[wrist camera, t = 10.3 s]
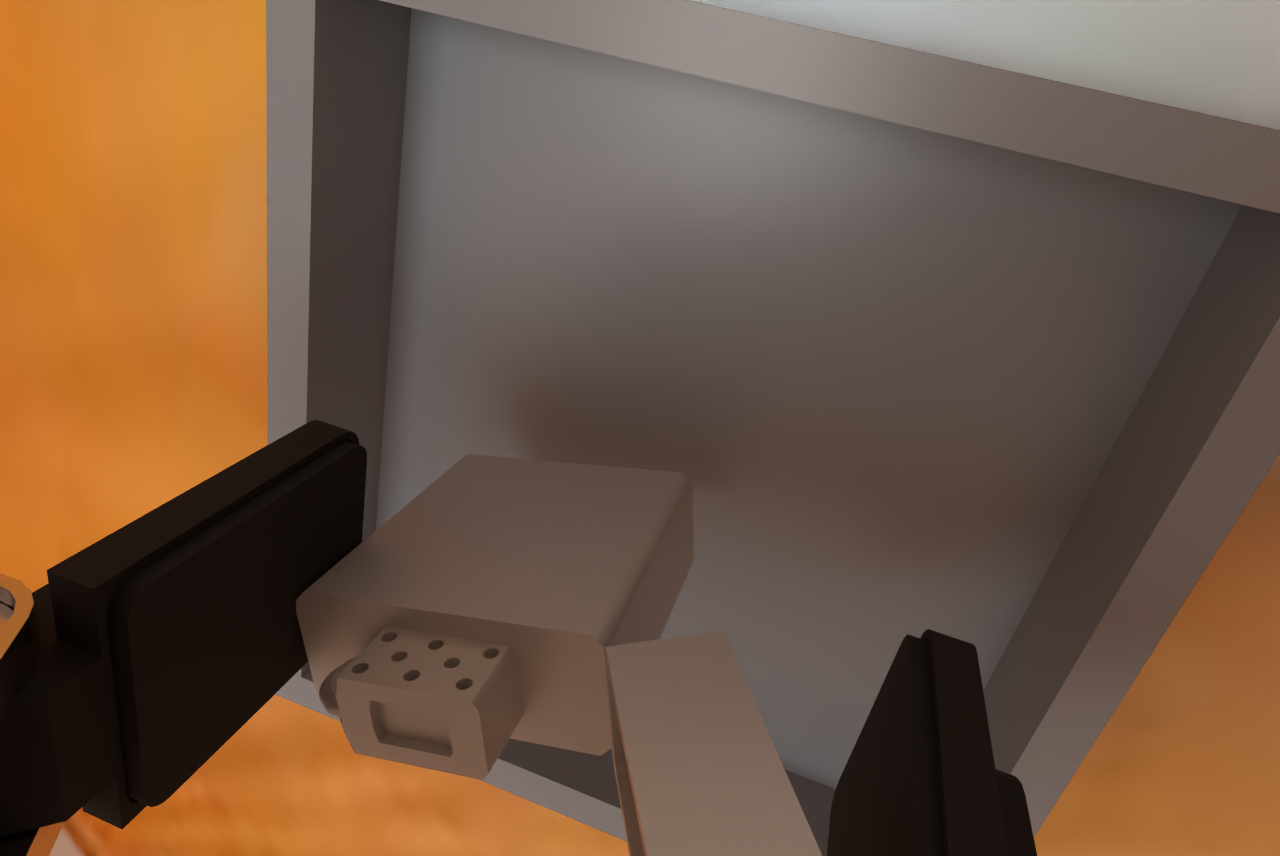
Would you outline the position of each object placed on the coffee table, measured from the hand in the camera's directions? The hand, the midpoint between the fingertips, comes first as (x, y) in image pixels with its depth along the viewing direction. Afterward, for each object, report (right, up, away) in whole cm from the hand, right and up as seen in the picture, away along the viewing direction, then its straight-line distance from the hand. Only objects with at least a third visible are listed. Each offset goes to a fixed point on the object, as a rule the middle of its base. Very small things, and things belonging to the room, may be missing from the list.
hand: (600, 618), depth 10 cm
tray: (+2, +2, +5) cm, 6 cm away
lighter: (+1, +1, +3) cm, 3 cm away
